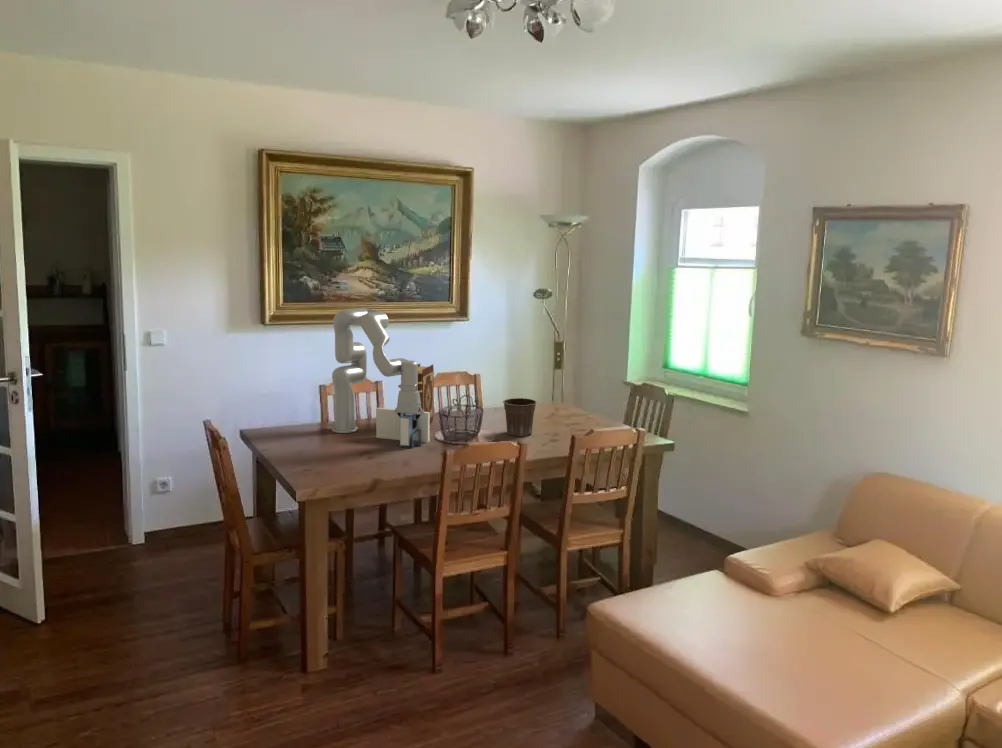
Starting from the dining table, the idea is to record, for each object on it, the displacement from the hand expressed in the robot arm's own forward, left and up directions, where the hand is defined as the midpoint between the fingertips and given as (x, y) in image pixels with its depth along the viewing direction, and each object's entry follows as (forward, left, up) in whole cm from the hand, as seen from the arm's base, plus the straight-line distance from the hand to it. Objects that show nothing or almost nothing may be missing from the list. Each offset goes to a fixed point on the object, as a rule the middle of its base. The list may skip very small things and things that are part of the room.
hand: (409, 427), depth 350 cm
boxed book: (0, 0, -7) cm, 7 cm away
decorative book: (-9, +35, -8) cm, 38 cm away
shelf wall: (-6, +7, -8) cm, 13 cm away
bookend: (+1, 0, -8) cm, 8 cm away
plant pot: (+42, +38, -8) cm, 57 cm away
